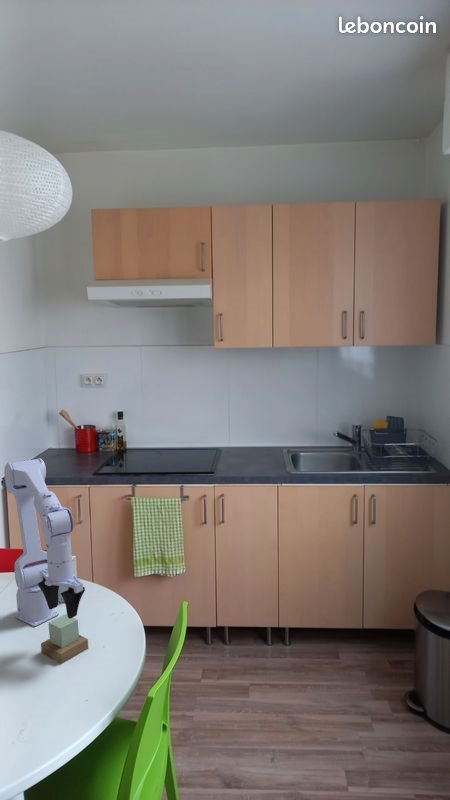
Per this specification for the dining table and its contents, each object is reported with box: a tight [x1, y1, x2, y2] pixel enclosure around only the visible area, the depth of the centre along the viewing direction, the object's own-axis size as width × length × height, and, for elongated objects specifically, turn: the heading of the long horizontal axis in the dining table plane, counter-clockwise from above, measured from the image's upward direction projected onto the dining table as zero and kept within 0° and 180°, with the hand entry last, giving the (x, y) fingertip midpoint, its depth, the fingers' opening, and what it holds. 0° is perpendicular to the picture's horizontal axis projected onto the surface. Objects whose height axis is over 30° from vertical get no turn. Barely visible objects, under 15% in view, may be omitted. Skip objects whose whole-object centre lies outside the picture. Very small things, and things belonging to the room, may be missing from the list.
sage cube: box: [48, 613, 80, 648], centre depth 140 cm, size 5×5×5 cm
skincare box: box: [58, 555, 78, 603], centre depth 167 cm, size 6×4×12 cm
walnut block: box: [40, 634, 89, 665], centre depth 140 cm, size 8×8×3 cm
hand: (62, 612), depth 139 cm, fingers open, 7 cm apart
